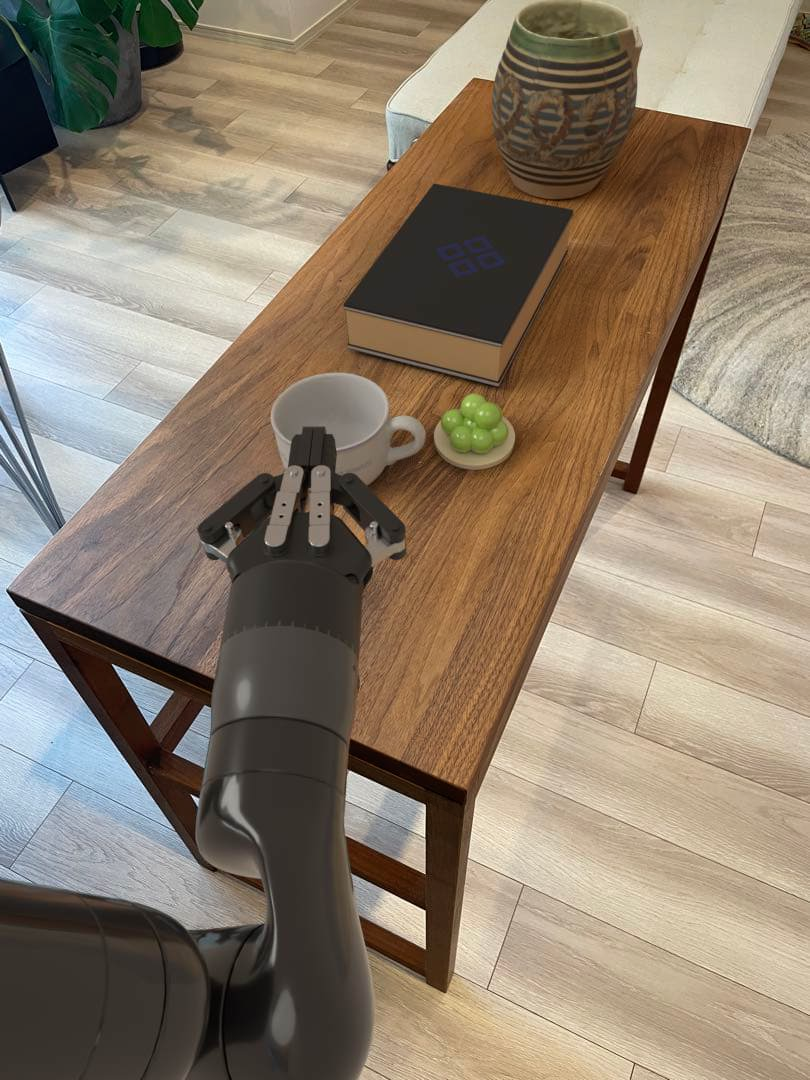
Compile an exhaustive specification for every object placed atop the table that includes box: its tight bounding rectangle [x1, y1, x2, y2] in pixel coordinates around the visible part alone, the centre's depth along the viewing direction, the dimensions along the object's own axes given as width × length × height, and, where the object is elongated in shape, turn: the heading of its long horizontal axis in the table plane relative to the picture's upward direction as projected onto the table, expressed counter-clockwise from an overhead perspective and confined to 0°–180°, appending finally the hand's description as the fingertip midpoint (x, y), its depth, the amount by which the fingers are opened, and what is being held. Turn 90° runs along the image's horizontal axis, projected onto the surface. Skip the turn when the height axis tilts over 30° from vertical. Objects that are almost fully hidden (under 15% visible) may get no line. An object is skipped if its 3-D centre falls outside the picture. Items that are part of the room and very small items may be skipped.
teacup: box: [269, 372, 427, 492], centre depth 77 cm, size 14×11×8 cm
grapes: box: [433, 392, 516, 471], centre depth 80 cm, size 8×8×5 cm
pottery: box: [491, 0, 644, 200], centre depth 104 cm, size 18×18×20 cm
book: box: [342, 182, 575, 388], centre depth 93 cm, size 17×25×7 cm
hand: (315, 435), depth 55 cm, fingers closed
